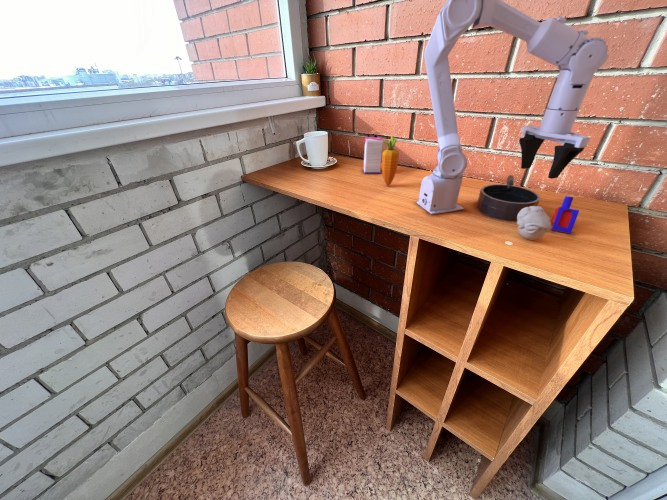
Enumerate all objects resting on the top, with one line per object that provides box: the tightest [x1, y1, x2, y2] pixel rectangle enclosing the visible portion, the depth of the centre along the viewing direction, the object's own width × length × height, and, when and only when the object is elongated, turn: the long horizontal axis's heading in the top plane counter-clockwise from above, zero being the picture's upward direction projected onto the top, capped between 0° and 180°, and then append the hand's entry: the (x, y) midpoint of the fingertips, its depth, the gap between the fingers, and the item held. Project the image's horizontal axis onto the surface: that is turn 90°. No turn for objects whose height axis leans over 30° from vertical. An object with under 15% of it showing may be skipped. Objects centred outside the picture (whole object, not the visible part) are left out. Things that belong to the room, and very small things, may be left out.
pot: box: [476, 183, 541, 222], centre depth 73 cm, size 13×13×5 cm
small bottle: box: [550, 195, 580, 234], centre depth 64 cm, size 4×4×8 cm
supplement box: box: [363, 136, 384, 175], centre depth 101 cm, size 6×6×12 cm
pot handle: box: [506, 174, 515, 190], centre depth 80 cm, size 11×2×2 cm, turn 151°
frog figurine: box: [516, 205, 552, 241], centre depth 60 cm, size 6×7×7 cm
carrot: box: [381, 135, 400, 187], centre depth 87 cm, size 5×5×15 cm
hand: (538, 172), depth 67 cm, fingers open, 7 cm apart
